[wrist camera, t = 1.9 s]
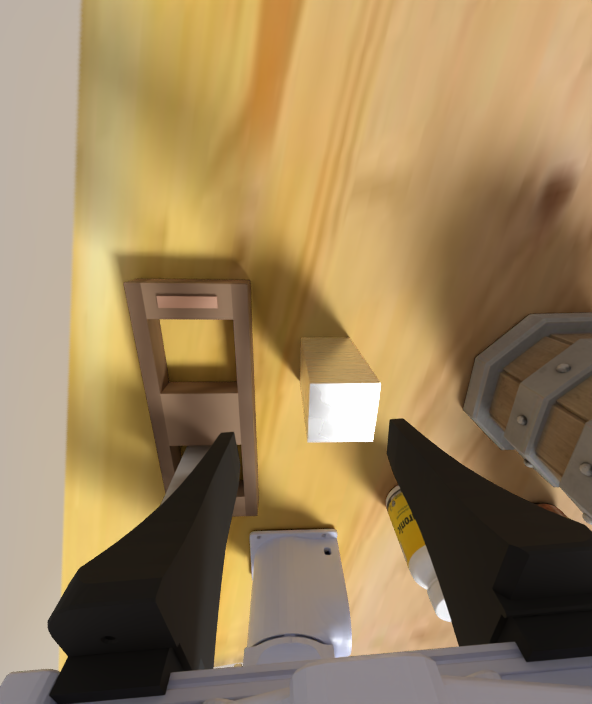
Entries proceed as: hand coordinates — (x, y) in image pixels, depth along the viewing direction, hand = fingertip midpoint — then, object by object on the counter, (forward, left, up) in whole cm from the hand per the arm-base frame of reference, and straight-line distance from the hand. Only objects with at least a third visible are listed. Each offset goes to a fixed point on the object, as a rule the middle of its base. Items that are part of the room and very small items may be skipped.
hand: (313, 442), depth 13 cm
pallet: (+8, +5, -11) cm, 15 cm away
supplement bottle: (-12, +17, -12) cm, 24 cm away
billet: (-2, +1, -11) cm, 12 cm away
